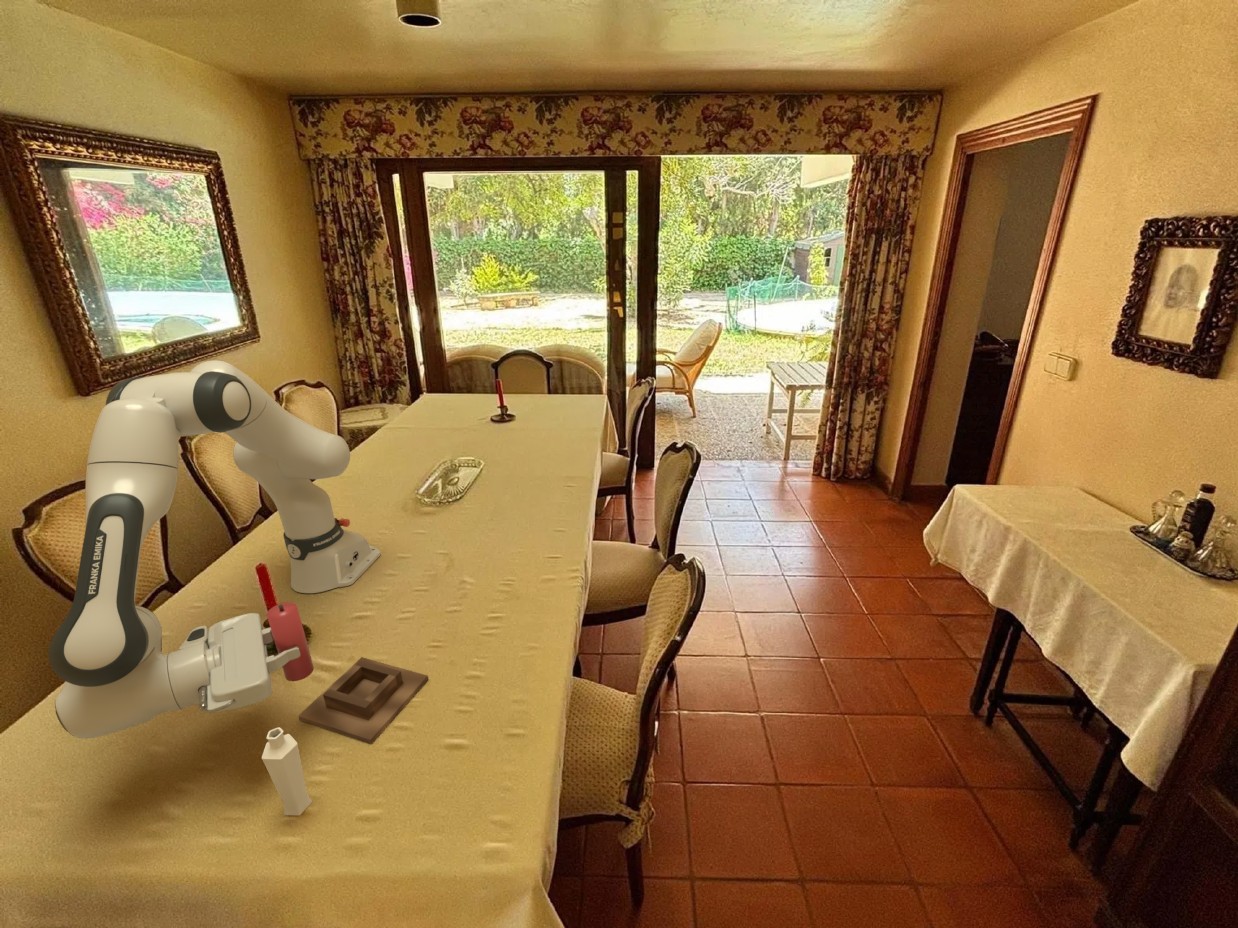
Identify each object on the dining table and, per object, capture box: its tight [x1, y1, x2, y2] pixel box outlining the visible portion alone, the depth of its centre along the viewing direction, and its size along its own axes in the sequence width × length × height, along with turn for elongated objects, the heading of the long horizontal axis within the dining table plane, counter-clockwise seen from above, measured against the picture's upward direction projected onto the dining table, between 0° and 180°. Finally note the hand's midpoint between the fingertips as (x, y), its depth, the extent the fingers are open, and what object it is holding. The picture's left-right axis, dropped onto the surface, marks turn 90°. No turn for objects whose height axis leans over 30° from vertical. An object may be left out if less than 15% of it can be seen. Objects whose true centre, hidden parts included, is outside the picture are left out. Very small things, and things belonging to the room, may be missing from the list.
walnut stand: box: [297, 656, 429, 745], centre depth 108 cm, size 16×16×4 cm
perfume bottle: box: [261, 726, 313, 816], centre depth 86 cm, size 5×4×15 cm
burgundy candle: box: [266, 601, 315, 682], centre depth 97 cm, size 4×4×14 cm
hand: (297, 639), depth 98 cm, fingers closed on burgundy candle, 4 cm apart
